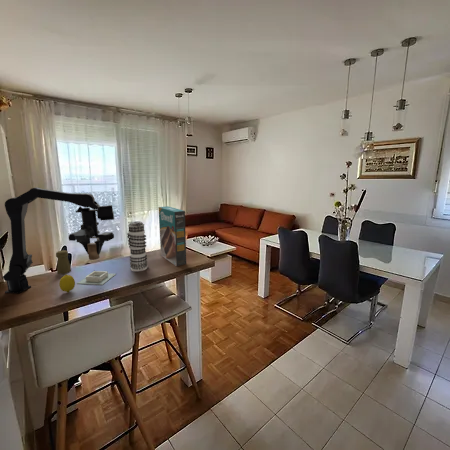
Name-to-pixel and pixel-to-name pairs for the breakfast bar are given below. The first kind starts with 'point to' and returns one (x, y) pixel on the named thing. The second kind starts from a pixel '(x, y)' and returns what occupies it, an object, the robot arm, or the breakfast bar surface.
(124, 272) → the breakfast bar surface
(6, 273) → the robot arm
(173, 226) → the cake mix box
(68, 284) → the lemon
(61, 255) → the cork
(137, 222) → the decorative candle
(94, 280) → the socket
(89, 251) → the peg
